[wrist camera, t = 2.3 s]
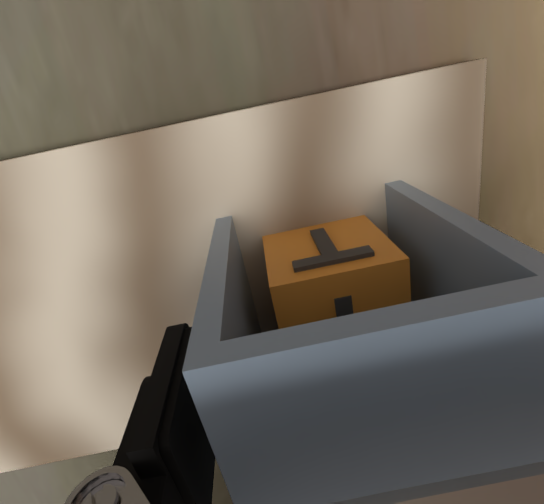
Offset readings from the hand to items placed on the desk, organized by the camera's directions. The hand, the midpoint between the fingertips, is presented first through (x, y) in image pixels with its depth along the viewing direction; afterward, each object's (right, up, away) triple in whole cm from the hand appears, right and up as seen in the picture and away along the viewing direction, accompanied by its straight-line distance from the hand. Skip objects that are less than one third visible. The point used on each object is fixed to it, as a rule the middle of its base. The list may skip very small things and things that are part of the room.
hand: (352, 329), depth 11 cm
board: (-7, 0, +5) cm, 8 cm away
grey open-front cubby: (0, +1, +4) cm, 4 cm away
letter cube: (0, +2, +4) cm, 4 cm away
